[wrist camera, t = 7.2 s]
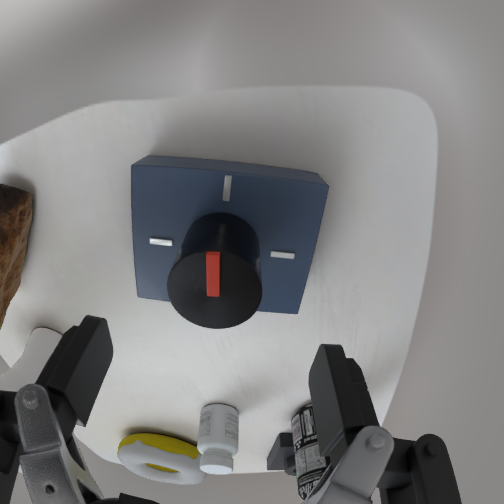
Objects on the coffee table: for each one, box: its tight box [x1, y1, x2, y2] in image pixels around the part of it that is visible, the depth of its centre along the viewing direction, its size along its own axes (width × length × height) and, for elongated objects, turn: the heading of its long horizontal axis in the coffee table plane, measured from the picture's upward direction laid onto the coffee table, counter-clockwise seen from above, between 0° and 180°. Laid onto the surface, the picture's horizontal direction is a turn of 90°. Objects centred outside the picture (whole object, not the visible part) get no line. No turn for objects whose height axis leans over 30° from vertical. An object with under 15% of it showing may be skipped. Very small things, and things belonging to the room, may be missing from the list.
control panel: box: [131, 155, 329, 314], centre depth 19 cm, size 11×9×3 cm
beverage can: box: [291, 404, 331, 500], centre depth 26 cm, size 7×7×12 cm
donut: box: [117, 433, 207, 485], centre depth 34 cm, size 14×14×5 cm
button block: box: [267, 433, 296, 476], centre depth 35 cm, size 10×10×4 cm
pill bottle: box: [197, 404, 239, 474], centre depth 27 cm, size 4×4×8 cm
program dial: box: [167, 213, 263, 329], centre depth 15 cm, size 4×4×5 cm
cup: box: [0, 328, 62, 474], centre depth 20 cm, size 11×11×15 cm
